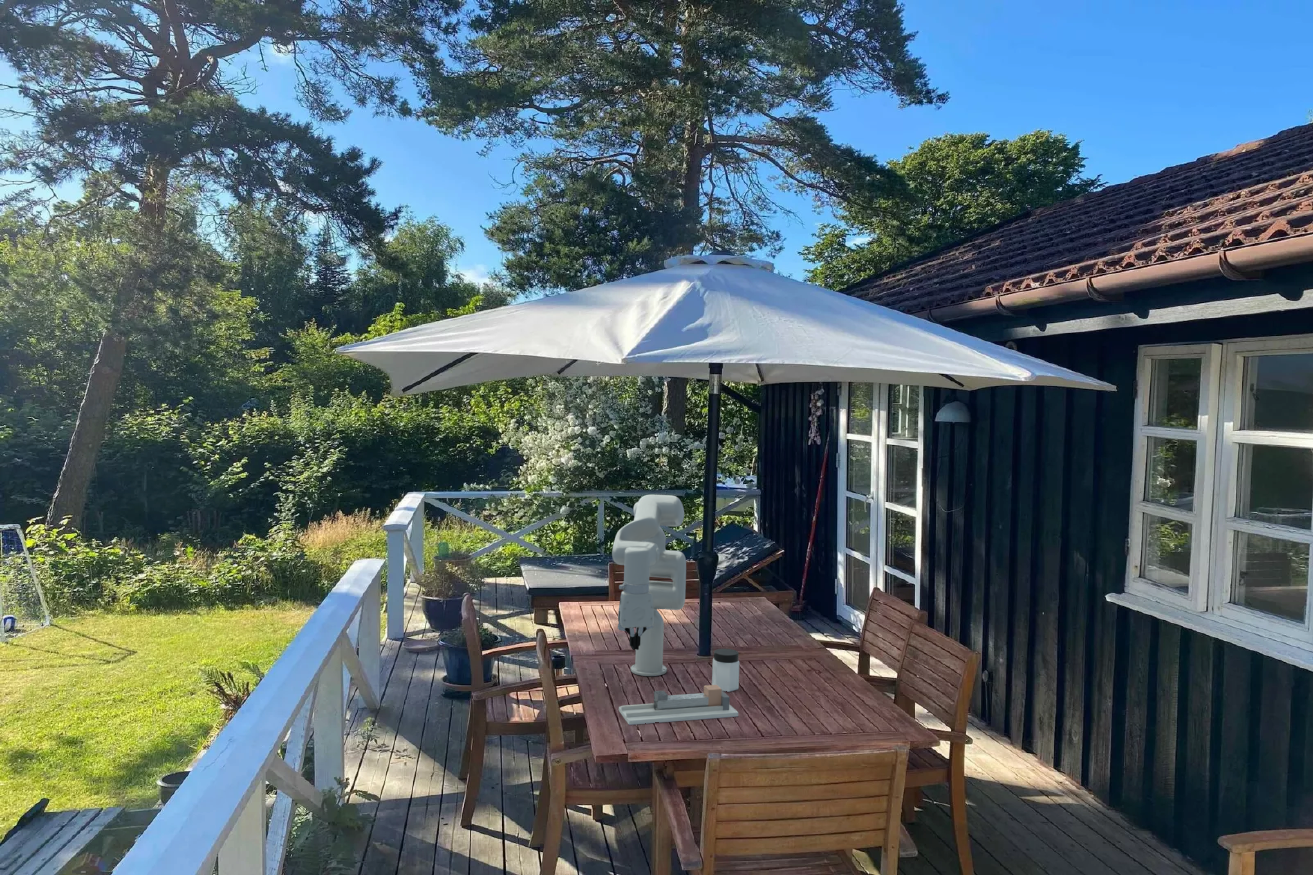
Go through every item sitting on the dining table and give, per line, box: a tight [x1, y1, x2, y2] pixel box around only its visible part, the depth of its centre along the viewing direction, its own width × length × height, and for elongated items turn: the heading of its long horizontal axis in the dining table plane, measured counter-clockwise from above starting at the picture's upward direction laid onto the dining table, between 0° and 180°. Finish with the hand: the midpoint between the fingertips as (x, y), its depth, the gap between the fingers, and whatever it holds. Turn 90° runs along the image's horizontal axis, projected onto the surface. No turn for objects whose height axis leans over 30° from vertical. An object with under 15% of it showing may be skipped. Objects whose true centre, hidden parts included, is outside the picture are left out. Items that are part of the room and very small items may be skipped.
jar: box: [711, 648, 740, 693], centre depth 285 cm, size 9×8×12 cm
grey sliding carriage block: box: [653, 690, 709, 710], centre depth 259 cm, size 4×16×5 cm, turn 107°
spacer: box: [703, 684, 722, 707], centre depth 263 cm, size 4×4×6 cm
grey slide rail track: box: [618, 691, 739, 726], centre depth 259 cm, size 12×34×5 cm, turn 107°
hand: (634, 648), depth 257 cm, fingers closed
